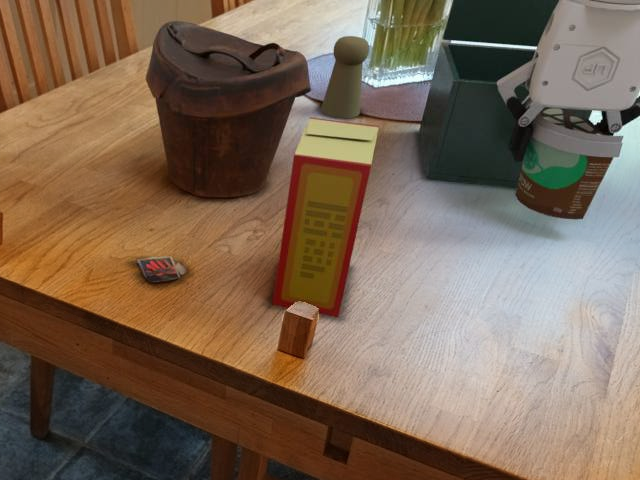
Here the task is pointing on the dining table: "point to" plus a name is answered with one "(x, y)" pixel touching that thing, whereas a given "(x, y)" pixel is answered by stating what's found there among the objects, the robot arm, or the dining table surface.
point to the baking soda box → (323, 212)
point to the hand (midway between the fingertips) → (552, 158)
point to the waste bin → (473, 115)
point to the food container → (564, 164)
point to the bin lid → (499, 21)
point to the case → (221, 106)
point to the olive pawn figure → (346, 78)
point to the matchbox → (161, 269)
